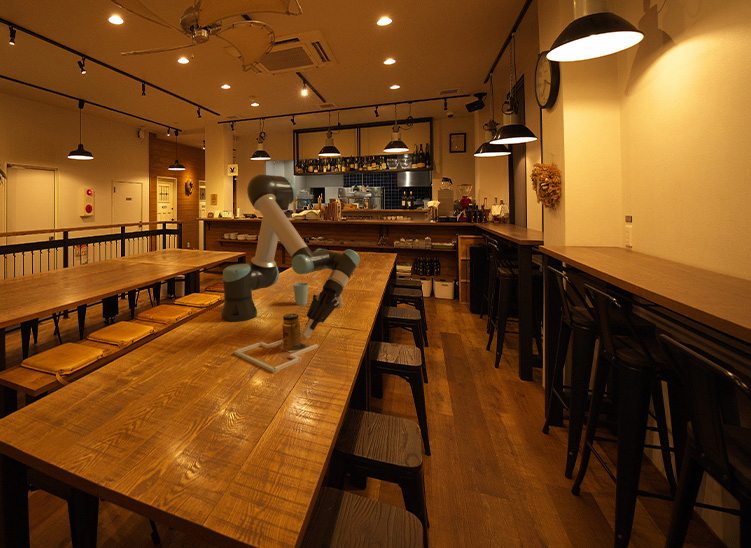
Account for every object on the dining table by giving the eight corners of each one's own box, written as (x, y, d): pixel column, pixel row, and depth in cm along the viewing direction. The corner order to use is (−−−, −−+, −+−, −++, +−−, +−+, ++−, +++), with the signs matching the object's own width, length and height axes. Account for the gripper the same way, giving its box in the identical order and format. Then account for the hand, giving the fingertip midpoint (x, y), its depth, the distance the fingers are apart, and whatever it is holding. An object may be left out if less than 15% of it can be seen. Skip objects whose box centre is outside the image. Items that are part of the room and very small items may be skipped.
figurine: (329, 304, 181) (328, 281, 179) (343, 304, 181) (342, 281, 179) (328, 308, 174) (328, 284, 172) (342, 308, 174) (342, 284, 172)
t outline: (233, 353, 120) (233, 351, 119) (286, 335, 137) (286, 333, 137) (273, 372, 106) (273, 369, 106) (325, 350, 123) (325, 347, 123)
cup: (310, 304, 180) (310, 285, 178) (295, 306, 177) (294, 286, 175) (307, 301, 187) (306, 282, 185) (292, 302, 184) (291, 283, 182)
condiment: (278, 347, 125) (276, 315, 123) (297, 341, 132) (296, 310, 129) (290, 353, 121) (289, 320, 118) (310, 346, 127) (309, 314, 125)
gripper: (352, 291, 137) (322, 345, 127) (328, 287, 145) (298, 336, 135) (343, 280, 132) (310, 335, 122) (318, 276, 140) (287, 327, 130)
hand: (304, 336), depth 129 cm, fingers closed
